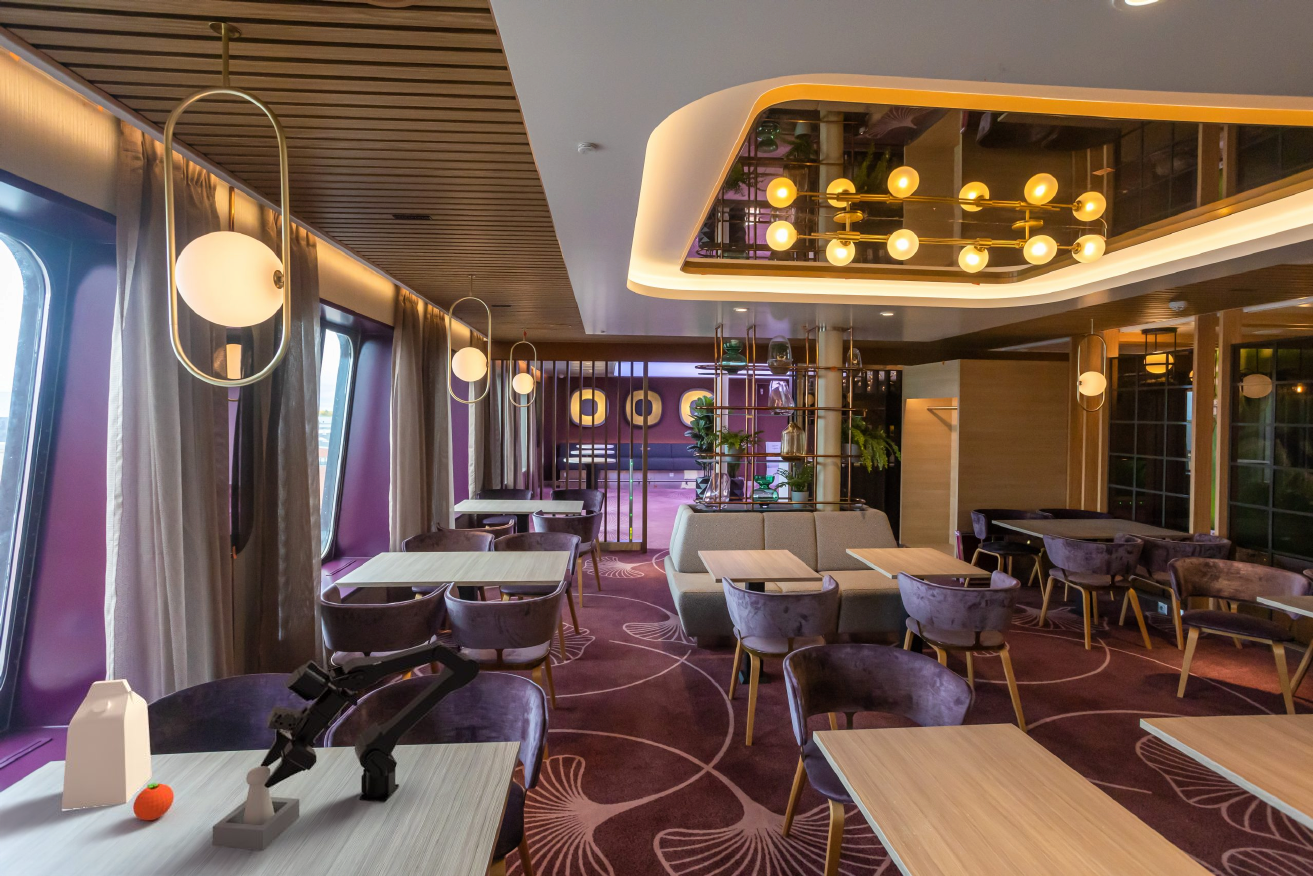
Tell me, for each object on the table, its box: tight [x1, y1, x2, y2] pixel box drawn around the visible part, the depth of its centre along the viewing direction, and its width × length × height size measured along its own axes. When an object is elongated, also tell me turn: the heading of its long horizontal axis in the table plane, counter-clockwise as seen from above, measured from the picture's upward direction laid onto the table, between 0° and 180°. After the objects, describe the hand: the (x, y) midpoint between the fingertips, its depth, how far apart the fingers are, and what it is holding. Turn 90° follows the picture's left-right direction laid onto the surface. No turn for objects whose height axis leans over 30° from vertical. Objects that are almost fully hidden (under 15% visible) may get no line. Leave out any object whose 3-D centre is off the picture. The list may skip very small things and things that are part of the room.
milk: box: [61, 678, 153, 810], centre depth 146 cm, size 12×12×26 cm
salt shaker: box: [242, 766, 275, 825], centre depth 133 cm, size 6×6×13 cm
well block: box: [212, 796, 300, 851], centre depth 133 cm, size 11×11×4 cm
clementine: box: [132, 782, 175, 821], centre depth 138 cm, size 8×7×7 cm
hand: (263, 777), depth 134 cm, fingers open, 9 cm apart
